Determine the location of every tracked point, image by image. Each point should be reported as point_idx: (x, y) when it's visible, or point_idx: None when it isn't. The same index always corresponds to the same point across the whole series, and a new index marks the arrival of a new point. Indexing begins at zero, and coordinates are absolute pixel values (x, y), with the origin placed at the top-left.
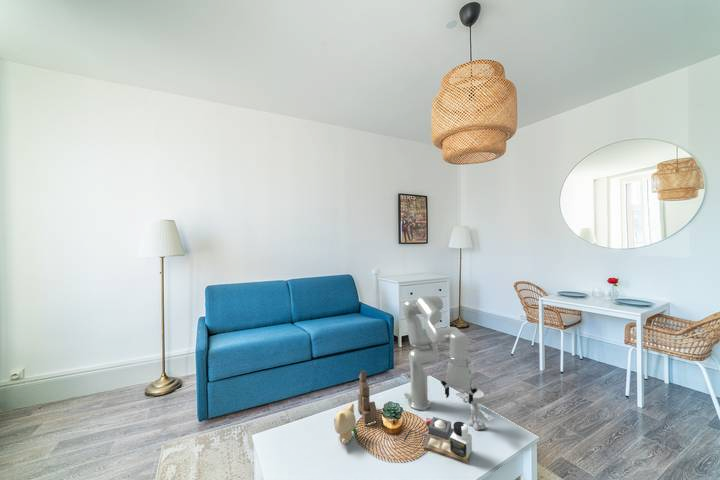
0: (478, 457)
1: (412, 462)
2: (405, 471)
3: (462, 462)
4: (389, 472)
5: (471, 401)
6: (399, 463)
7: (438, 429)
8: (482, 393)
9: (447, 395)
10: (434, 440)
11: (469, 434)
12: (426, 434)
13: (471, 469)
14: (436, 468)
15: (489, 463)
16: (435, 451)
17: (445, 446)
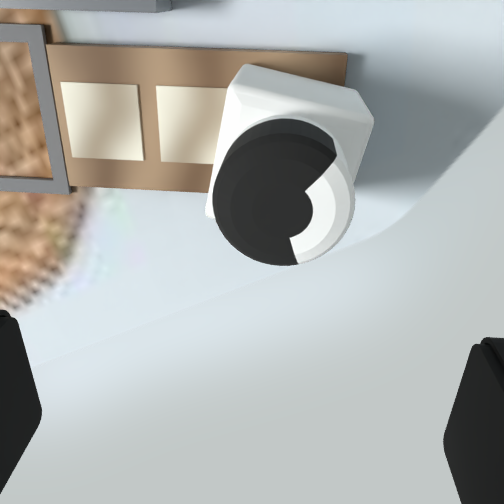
0: (398, 99)
1: (60, 291)
2: (59, 346)
3: None
4: None
5: None
6: None
7: (77, 4)
8: None
9: (12, 454)
10: (93, 99)
11: (357, 126)
12: (14, 31)
13: (352, 218)
14: (178, 281)
15: (466, 124)
16: (135, 186)
17: (179, 126)
